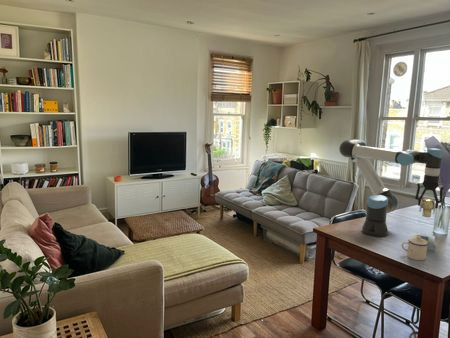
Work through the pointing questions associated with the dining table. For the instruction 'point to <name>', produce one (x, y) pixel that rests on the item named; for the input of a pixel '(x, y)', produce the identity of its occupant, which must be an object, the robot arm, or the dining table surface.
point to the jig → (427, 238)
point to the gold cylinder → (427, 207)
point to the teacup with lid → (416, 248)
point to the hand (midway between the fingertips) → (426, 212)
